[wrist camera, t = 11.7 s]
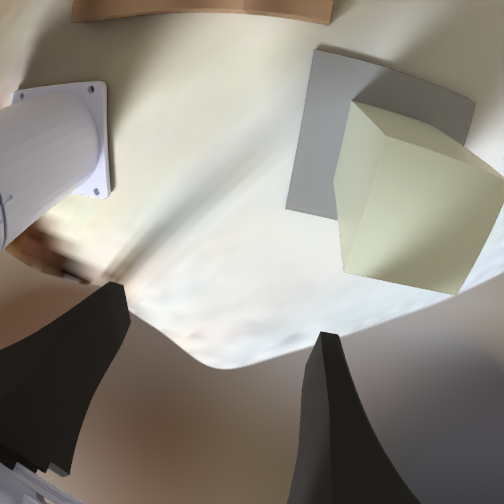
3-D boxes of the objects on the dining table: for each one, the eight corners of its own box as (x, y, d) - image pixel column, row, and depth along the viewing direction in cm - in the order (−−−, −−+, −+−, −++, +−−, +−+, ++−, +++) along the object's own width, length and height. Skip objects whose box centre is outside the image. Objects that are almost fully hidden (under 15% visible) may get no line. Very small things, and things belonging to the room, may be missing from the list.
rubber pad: (285, 205, 18) (285, 208, 18) (314, 49, 13) (314, 49, 13) (425, 238, 17) (427, 242, 17) (472, 101, 12) (475, 102, 12)
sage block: (333, 180, 16) (343, 272, 10) (351, 100, 14) (385, 136, 7) (408, 199, 16) (456, 295, 9) (431, 125, 13) (511, 183, 7)
